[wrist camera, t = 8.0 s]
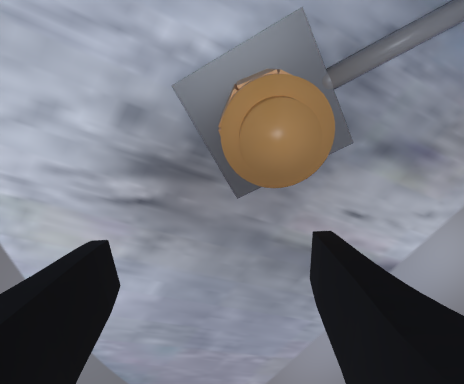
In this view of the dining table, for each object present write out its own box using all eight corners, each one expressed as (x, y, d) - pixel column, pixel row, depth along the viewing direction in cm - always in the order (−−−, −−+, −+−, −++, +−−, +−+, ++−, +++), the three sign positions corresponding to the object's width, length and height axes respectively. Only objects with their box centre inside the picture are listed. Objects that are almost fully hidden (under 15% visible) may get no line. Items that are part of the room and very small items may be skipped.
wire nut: (293, 57, 16) (326, 52, 10) (315, 139, 17) (354, 174, 12) (212, 91, 16) (199, 105, 11) (241, 166, 18) (244, 212, 12)
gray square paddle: (508, -116, 13) (629, -197, 9) (527, 51, 16) (627, 46, 12) (174, 84, 17) (155, 90, 13) (237, 192, 20) (237, 225, 16)
